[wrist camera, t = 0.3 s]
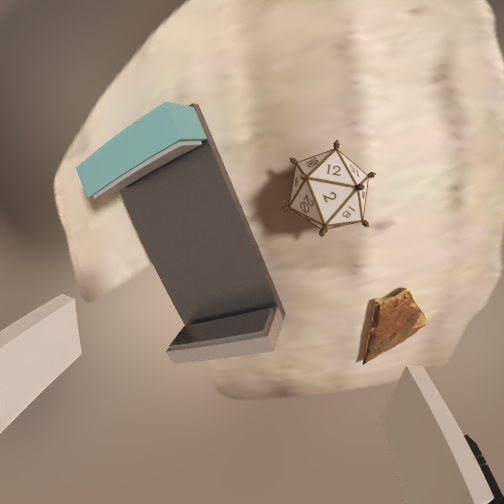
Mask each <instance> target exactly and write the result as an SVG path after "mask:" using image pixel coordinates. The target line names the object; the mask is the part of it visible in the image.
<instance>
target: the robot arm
mask: <svg viewBox="0 0 504 504" xmlns="http://www.w3.org/2000/svg"><path fill="white" fill-rule="evenodd" d="M81 354H82V352H81V346H80V339H79V332H78V323H77V314H76V304H75V298H72V297H69V296H67V295H64V294H61V295H59V296H57V297H56V298H54V299H52V300H51V301H49V302H48V303H46V304H44V305H42V306H41V307H39V308H37V309H36V310H34V311H32V312H31V313H29V314H27V315H26V316H24V317H23V318H21V319H19V320H18V321H16V322H15V323H13V324H12V325H10V326H8V327H7V328H5V329H4V330H2V331H1V332H0V433H1V432H2V431H3V430H4V429H5V428H6V427H7V426H8V425H9V424H10V423H11V422H12V421H13V420H14V419H15V418H16V417H17V416H18V415H19V414H20V413H21V412H22V411H23V410H24V409H25V408H26V407H27V406H28V405H29V404H30V403H31V402H32V401H33V400H34V399H35V398H36V397H37V396H38V395H39V394H40V393H41V392H42V391H43V390H44V389H45V388H46V387H47V386H48V385H49V384H50V383H51V382H52V381H53V380H54V379H55V378H56V377H57V376H59V375H60V374H61V373H62V372H63V371H64V370H65V369H66V368H67V367H68V366H69V365H70V364H71V363H72V362H73V361H74V360H75V359H77V358H78V357H79V356H80V355H81ZM380 419H381V422H382V425H383V428H384V431H385V434H386V437H387V441H388V444H389V447H390V450H391V454H392V457H393V461H394V464H395V467H396V471H397V474H398V478H399V482H400V485H401V489H402V492H403V496H404V500H405V504H504V497H503V495H502V493H501V491H500V489H499V487H498V485H497V483H496V481H495V479H494V477H493V475H492V473H491V471H490V469H489V467H488V465H486V461H485V459H484V457H482V453H481V451H480V450H479V448H478V446H477V444H476V443H475V442H474V441H473V440H472V439H471V438H470V437H469V436H468V435H464V436H463V434H462V432H461V430H460V428H459V427H458V425H457V423H456V421H455V420H454V418H453V416H452V415H451V413H450V411H449V409H448V407H447V406H446V404H445V403H444V401H443V399H442V397H441V396H440V394H439V392H438V391H437V389H436V387H435V386H434V384H433V383H432V381H431V379H430V378H429V376H428V375H427V373H426V371H425V370H424V368H423V367H422V366H411V365H406V367H405V369H404V371H403V373H402V375H401V377H400V379H399V381H398V383H397V385H396V387H395V389H394V391H393V393H392V395H391V397H390V399H389V400H388V402H387V404H386V406H385V408H384V409H383V411H382V413H381V415H380Z"/></svg>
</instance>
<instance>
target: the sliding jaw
mask: <svg viewBox="0 0 504 504" xmlns="http://www.w3.org/2000/svg"><path fill="white" fill-rule="evenodd" d="M205 139H207V137H206V135H205V132H204V130H203V128H202V125H201V123H200V120H199V118H198V116H197V113H196V111H195V109H194V107H190V106H185V105H180V104H175V103H169V102H165V103H163V104H162V105H160V106H159V107H157V108H155V109H154V110H152V111H151V112H149V113H148V114H146V115H145V116H143V117H142V118H140V119H139V120H137V121H136V122H134V123H133V124H132V125H130V126H129V127H127V128H126V129H125V130H123V131H122V132H120V133H119V134H118V135H116V136H115V137H114V138H112V139H111V140H110V141H108V142H107V143H106V144H104V145H103V146H102V147H101V148H99V149H98V150H97V151H96V152H94V153H93V154H92V155H91V156H89V157H88V158H87V159H86V160H85V161H83V162H82V163H81V164H80V165H79V166H78V167H76V169H77V172H78V175H79V177H80V180H81V183H82V185H83V188H84V191H85V193H86V196H87V198H89V197H92V196H93V198H94V199H95V198H98V197H101V196H104V195H108V194H111V193H114V192H117V191H120V190H121V189H123V188H124V187H126V186H128V185H129V184H131V183H133V182H134V181H136V180H138V179H139V178H141V177H143V176H144V175H146V174H148V173H150V172H151V171H153V170H155V169H157V168H158V167H160V166H162V165H164V164H166V163H167V162H169V161H171V160H173V159H175V158H177V157H179V156H180V155H182V154H184V153H186V152H188V151H190V150H192V149H194V148H196V147H198V146H200V145H202V143H201V141H203V140H205Z"/></svg>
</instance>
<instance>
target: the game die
mask: <svg viewBox="0 0 504 504" xmlns="http://www.w3.org/2000/svg"><path fill="white" fill-rule="evenodd" d="M333 144H334V145H333V146H334V149H332V150H330V151H327V152H324V153H321V154H319V155H316V156H313V157H310V158H308V159H305V160H302V161H300V162H297V161H296V160H295V158H290V162H292V163H293V164H295V171H294V177H293V183H292V189H291V195H290V200H289V205H288V206H284V207H283V208H282V209H281V210H280V211H284V212H285V211H288V210H289V209H291V210H293V211H294V212H296V213H297V214H299V215H300V216H302V217H303V218H305V219H306V220H308V221H309V222H311V223H312V224H314V225H315V226H317V227H318V228H320V229H321V230H320V233H319V234H320V236H321V237H322V236H324V233H326V232H327V231H328V230H327V229H331V228H336V227H340V226H345V225H349V224H354V223H358V222H362V225H364V227H369V224H368V222H367V221H365V220H364V219H363V218H364V211H365V203H366V196H367V188H368V179H369V178H372V177H374V175H375V174H376V173H373V172H371V173H369V174H368V175H367V174H366V173H365V172H363V171H362V170H361V169H360V168H359V167H358V166H357V165H355V164H354V163H353V162H352V161H351V160H350V159H348V158H347V157H346V156H345V155H344V154H342V153H341V152H340V151H339V150H338V147H339V145H340V144H339V142H338V140H336V141H335V143H333Z"/></svg>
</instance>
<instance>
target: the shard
mask: <svg viewBox="0 0 504 504" xmlns="http://www.w3.org/2000/svg"><path fill="white" fill-rule="evenodd" d="M427 322H428V318H427V316H426V315H425V314H424V312H423V311H422V310H421V308H420V306H419V305H418V304H417V302H416V301H415V299H414V297H413V295H412V294H411V292H410V290H409V289H408V288H406V289H405V290H403V291H402V292H401V293H399V294H397V295H395V296H390V297H382V298H376V299H375V300H374V307H373V315H372V319H371V326H370V330H369V334H368V339H367V342H366V347H365V357H364V359H363V365H364V364H365V363H367V362H368V361H370V360H372V359H374V358H375V357H377V356H378V355H380V354H382V353H383V352H385V351H387V350H389V349H391V348H393V347H395V346H396V345H398V344H399V343H401V342H403V341H404V340H406V339H407V338H409V337H410V336H412V335H413V334H415V333H416V332H417V331H418V330H419V329H420V328H422V327H423V326H425V325H426V324H427Z"/></svg>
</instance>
